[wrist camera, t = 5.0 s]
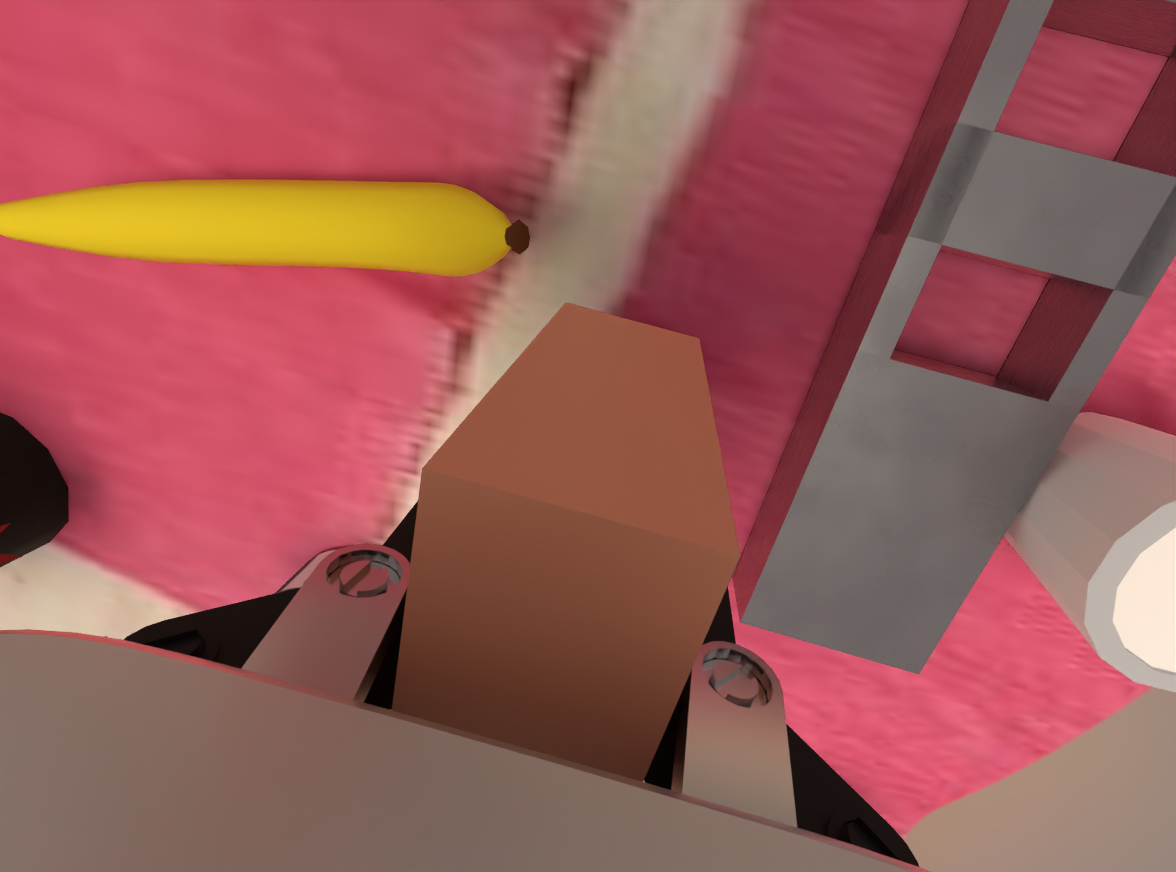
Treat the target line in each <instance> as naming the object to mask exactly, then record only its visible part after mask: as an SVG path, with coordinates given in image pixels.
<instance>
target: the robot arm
mask: <svg viewBox="0 0 1176 872" xmlns="http://www.w3.org/2000/svg"><path fill="white" fill-rule="evenodd" d="M417 507H418V501H417V503H416V504H415V505H414V506H413V508H412V509H411V510H410V511H409V513H408V514H407V515H406V517H405V518H404V519H403V520H402V522H401V523H400V524H399V525H398V527H397V528H396V529H395V530H394V532H393V533H392V534H391V535H390V537H389V538H388V539H387V540H386V542H385V543H384V544H383V546H382V545H375V544H357V545H350V546H347V547H343V548H340V549H338V550H336V551H334V552H332V553H330V554H328V555H327V556H326V557H325V558H324V559H323V560H322V561H321V562H320V563H319V564H318V565H317V566H316V568H315V569H314V571H313V572H312V573H311V575H310V576H309V577H308V579H307V580H306V581H305V583H304V584H303V585H302V587H301V588H297V589H292V590H288V591H284V592H280V593H276V594H272V595H268V596H264V597H259V598H255V599H251V600H247V601H243V602H239V603H235V604H230V605H226V606H222V607H218V608H214V609H210V610H206V611H201V612H197V613H193V614H189V615H185V616H181V617H177V618H173V619H168V620H164V621H161V622H158V623H155V624H152V625H149V626H146V627H144V628H142V629H140V630H139V631H137V632H135V633H133V634H131V635H129V636H127V637H126V638H125V639H124V640H121V639H114V638H108V637H107V636H105V637H101V636H94V635H87V634H81V633H72V632H58V631H43V630H28V629H27V630H0V872H930V871H927V870H925V869H922V868H920V867H919V865H918V862H917V860H916V859H915V857H914V855H913V854H912V852H911V851H910V849H909V847H908V846H907V844H906V843H905V841H904V840H903V839H902V838H901V837H900V836H899V835H898V833H897V832H896V831H895V830H894V829H893V828H892V827H891V826H890V825H889V824H888V823H887V822H886V821H885V820H884V819H883V818H882V817H881V816H880V815H879V814H878V813H877V812H876V811H875V810H874V809H873V808H872V807H871V806H870V805H869V804H868V803H867V802H866V801H865V800H864V799H863V798H862V797H861V796H860V795H859V794H858V793H857V792H856V791H855V790H854V789H853V788H851V787H850V786H849V785H848V784H847V783H846V782H845V781H844V780H843V779H842V778H841V777H840V776H839V775H838V774H837V773H836V772H835V771H834V770H833V769H832V768H831V767H830V766H829V765H828V764H827V763H826V762H825V761H824V760H823V759H822V758H821V757H820V756H819V755H818V754H817V753H816V752H815V751H814V750H813V749H812V748H811V747H810V746H808V745H807V744H806V743H805V742H804V741H803V740H802V739H801V738H800V737H799V736H798V735H797V734H796V733H795V732H794V731H793V730H792V729H791V728H790V727H789V726H788V725H787V724H786V718H785V709H784V699H783V692H782V688H781V685H780V681H779V680H778V678H777V676H776V675H775V673H774V672H773V670H772V669H771V668H770V667H769V666H768V665H767V664H766V663H765V661H764V660H763V659H761V658H760V657H759V656H757V655H756V654H754V653H753V652H752V651H750V650H748V649H746V648H744V647H742V646H739V645H737V644H736V642H735V635H734V628H733V621H732V614H731V607H730V600H729V593H728V586H727V588H726V591H725V593H724V595H723V598H722V600H721V602H720V605H719V607H718V609H717V612H716V614H715V616H714V619H713V621H712V623H711V625H710V628H709V630H708V632H707V635H706V637H705V639H704V642H703V644H702V646H701V649H700V651H699V653H698V656H697V658H696V660H695V663H694V665H693V667H692V669H691V672H690V674H689V676H688V679H687V681H686V683H685V686H684V688H683V690H682V693H681V695H680V697H679V700H678V702H677V704H676V707H675V709H674V711H673V713H672V716H671V718H670V720H669V723H668V725H667V727H666V730H665V732H664V734H663V737H662V739H661V741H660V744H659V746H658V748H657V751H656V753H655V755H654V757H653V760H652V762H651V764H650V767H649V769H648V771H647V774H646V776H645V778H644V781H643V782H641V781H638V780H634V779H631V778H627V777H624V776H621V775H617V774H614V773H610V772H607V771H603V770H600V769H596V768H593V767H589V766H586V765H582V764H579V763H575V762H572V761H568V760H565V759H561V758H558V757H554V756H551V755H547V754H544V753H540V752H537V751H533V750H530V749H526V748H523V747H519V746H516V745H512V744H509V743H505V742H502V741H498V740H495V739H491V738H488V737H484V736H481V735H477V734H474V733H470V732H467V731H463V730H460V729H456V728H452V727H449V726H445V725H442V724H438V723H435V722H431V721H428V720H424V719H421V718H417V717H414V716H410V715H406V714H403V713H399V712H396V711H392V704H393V696H394V688H395V680H396V673H397V665H398V657H399V649H400V641H401V633H402V625H403V617H404V609H405V602H406V594H407V586H408V578H409V570H410V562H411V554H412V546H413V538H414V531H415V523H416V515H417Z"/></svg>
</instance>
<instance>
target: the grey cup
mask: <svg viewBox="0 0 1176 872" xmlns="http://www.w3.org/2000/svg"><path fill="white" fill-rule="evenodd" d="M1004 537H1005V538H1006V540H1007V541H1008V542H1009V544H1010V545H1011V546H1012V547H1013V549H1014V550H1015V551H1016V552H1017V554H1018V555H1019V556H1020V557H1021V559H1022V560H1023V561H1024V562H1025V564H1026V565H1027V566H1028V567H1029V569H1030V570H1031V571H1032V572H1033V574H1034V575H1035V576H1036V577H1037V579H1038V580H1039V581H1040V582H1041V584H1042V585H1043V586H1044V588H1045V589H1046V590H1047V591H1048V593H1049V594H1050V595H1051V596H1052V598H1053V599H1054V600H1055V601H1056V603H1057V604H1058V605H1059V606H1060V608H1061V609H1062V610H1063V611H1064V613H1065V614H1066V615H1067V616H1068V618H1069V619H1070V620H1071V621H1072V623H1073V624H1074V625H1075V627H1076V628H1077V629H1078V630H1079V632H1080V633H1081V634H1082V635H1083V637H1084V638H1085V639H1086V640H1087V642H1088V643H1089V644H1090V645H1091V647H1092V648H1093V649H1094V650H1095V652H1096V653H1097V654H1098V655H1099V657H1100V658H1102V659H1103V660H1104V661H1106V662H1107V663H1108V664H1110V665H1111V666H1113V667H1114V668H1115V669H1117V670H1118V671H1120V672H1121V673H1122V674H1124V675H1125V676H1127V677H1128V678H1129V679H1131V680H1132V681H1134V682H1136V683H1140V684H1144V685H1148V686H1152V687H1156V688H1160V689H1164V690H1168V691H1172V692H1176V436H1174V435H1171V434H1168V433H1165V432H1162V431H1159V430H1155V429H1152V428H1149V427H1146V426H1143V425H1139V424H1136V423H1133V422H1130V421H1127V420H1124V419H1120V418H1116V417H1111V416H1107V415H1103V414H1098V413H1094V412H1082V413H1079V414H1078V415H1077V417H1076V419H1075V420H1074V422H1073V423H1072V425H1071V427H1070V428H1069V430H1068V432H1067V433H1066V435H1065V436H1064V438H1063V440H1062V441H1061V443H1060V445H1059V446H1058V448H1057V450H1056V451H1055V453H1054V454H1053V456H1052V458H1051V459H1050V461H1049V463H1048V464H1047V466H1046V468H1045V469H1044V471H1043V472H1042V474H1041V476H1040V477H1039V479H1038V481H1037V482H1036V484H1035V485H1034V487H1033V489H1032V490H1031V492H1030V494H1029V495H1028V497H1027V499H1026V500H1025V502H1024V503H1023V505H1022V507H1021V508H1020V510H1019V512H1018V513H1017V515H1016V517H1015V518H1014V520H1013V521H1012V523H1011V525H1010V526H1009V528H1008V530H1007V531H1006V533H1005V535H1004Z"/></svg>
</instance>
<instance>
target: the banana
mask: <svg viewBox="0 0 1176 872" xmlns="http://www.w3.org/2000/svg"><path fill="white" fill-rule="evenodd" d="M0 235H3V236H5V237H8V238H11V239H15V240H20V241H25V242H31V243H36V244H41V245H46V246H51V247H56V248H62V249H68V250H74V251H80V252H86V253H92V254H98V255H104V256H109V257H118V258H127V259H136V260H146V261H155V262H172V263H194V264H222V265H258V266H310V267H343V268H364V269H382V270H395V271H407V272H416V273H425V274H433V275H440V276H459V277H462V276H466V275H471V274H476V273H479V272H481V271H483V270H485V269H486V268H488V267H490V266H492V265H494V264H495V263H496V262H498V261H499V260H500V259H502V258H503V257H505V255H506V254H507V253H508V252H509V251H510V249H511V248H512V250H513V251H515V252H516V253H518V254H521V253H522V252H523V251H525V250H526V249H527V248H528V246H529V241H530V235H529V230H528V227H527V226H526V225H525V224H524V223H523V222H521V221H520V220H518V221H516V222H514V223H513V224H511V223H510V221H509V220H508V219H507V217H506V216H505V214H504V213H503V212H502V211H500V210H499V209H498V208H496V207H495V206H493V205H492V204H490V203H489V202H488V201H486V200H485V199H483V198H482V197H481V196H479V195H478V194H476V193H475V192H473V191H470V190H468V189H465V188H463V187H460V186H458V185H453V184H446V183H439V182H385V181H335V180H269V179H192V180H166V181H144V182H133V183H124V184H115V185H106V186H96V187H89V188H84V189H78V190H72V191H66V192H60V193H54V194H48V195H43V196H37V197H32V198H27V199H21V200H16V201H11V202H5V203H0Z"/></svg>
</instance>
